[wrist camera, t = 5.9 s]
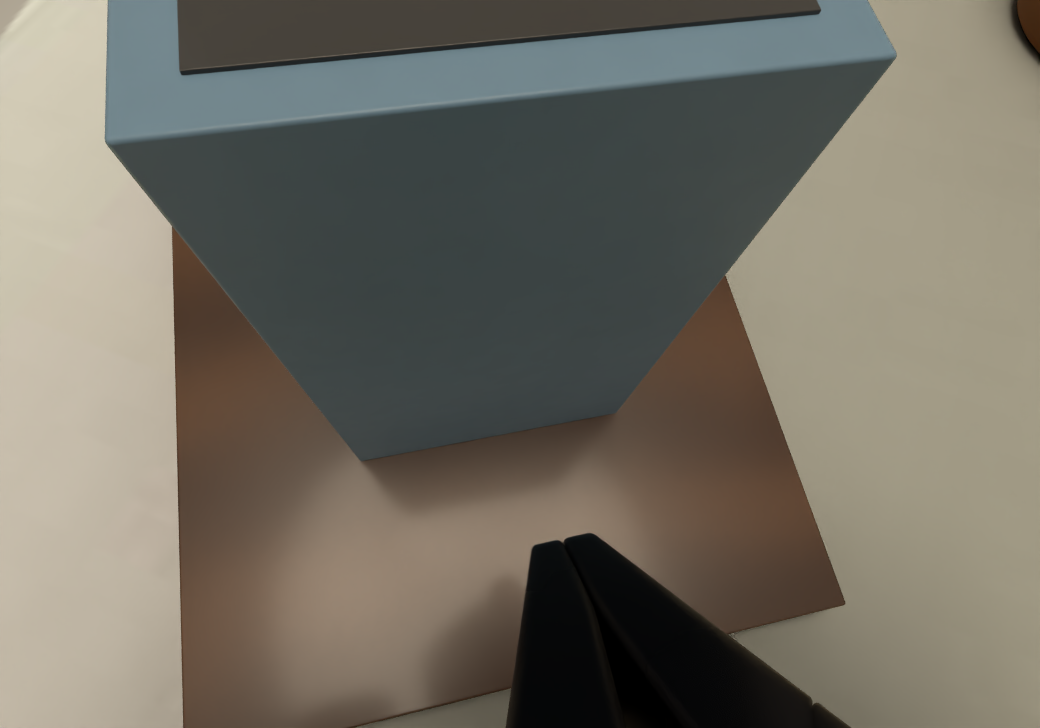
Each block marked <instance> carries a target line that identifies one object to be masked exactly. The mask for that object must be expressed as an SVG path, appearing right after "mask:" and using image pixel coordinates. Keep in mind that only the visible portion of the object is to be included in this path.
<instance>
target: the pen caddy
mask: <svg viewBox="0 0 1040 728" xmlns="http://www.w3.org/2000/svg"><path fill="white" fill-rule="evenodd" d="M896 56H897V55H896V51H895V49H894V48H893V46H892V44H891V42H890V40H889V38H888V37H887V35H886V33H885V31H884V29H883V28H882V26H881V24H880V22H879V20H878V18H877V17H876V15H875V13H874V11H873V9H872V8H871V6H870V4H869V2H868V0H108V17H107V63H106V109H105V142H106V144H107V145H108V147H109V148H110V149H111V150H112V152H113V153H114V154H115V155H116V157H117V158H118V159H119V160H120V162H121V163H122V164H123V165H124V167H125V168H126V169H127V170H128V172H129V173H130V174H131V175H132V177H133V178H134V179H135V180H136V182H137V183H138V184H139V185H140V187H141V188H142V189H143V190H144V192H145V193H146V194H147V195H148V197H149V198H150V199H151V200H152V202H153V203H154V204H155V205H156V207H157V208H158V209H159V210H160V212H161V213H162V214H163V215H164V217H165V218H166V219H167V220H168V222H169V223H170V224H171V225H172V227H173V228H174V229H175V230H176V232H177V233H178V234H179V235H180V237H181V238H182V239H183V240H184V242H185V243H186V244H187V245H188V247H189V248H190V249H191V250H192V252H193V253H194V254H195V255H196V257H197V258H198V259H199V260H200V261H201V263H202V264H203V265H204V266H205V268H206V269H207V270H208V271H209V273H210V274H211V275H212V276H213V278H214V279H215V280H216V281H217V283H218V284H219V285H220V286H221V288H222V289H223V290H224V291H225V293H226V294H227V295H228V296H229V298H230V299H231V300H232V301H233V303H234V304H235V305H236V306H237V308H238V309H239V310H240V311H241V313H242V314H243V315H244V316H245V318H246V319H247V320H248V321H249V323H250V324H251V325H252V326H253V328H254V329H255V330H256V331H257V333H258V334H259V335H260V336H261V338H262V339H263V340H264V341H265V343H266V344H267V345H268V346H269V348H270V349H271V350H272V351H273V353H274V354H275V355H276V356H277V358H278V359H279V360H280V361H281V363H282V364H283V365H284V366H285V368H286V369H287V370H288V371H289V373H290V374H291V375H292V376H293V378H294V379H295V380H296V381H297V383H298V384H299V385H300V386H301V387H302V389H303V390H304V391H305V392H306V394H307V395H308V396H309V397H310V399H311V400H312V401H313V402H314V404H315V405H316V406H317V407H318V409H319V410H320V411H321V412H322V414H323V415H324V416H325V417H326V419H327V420H328V421H329V422H330V424H331V425H332V426H333V427H334V429H335V430H336V431H337V432H338V434H339V435H340V436H341V437H342V439H343V440H344V441H345V442H346V444H347V445H348V446H349V447H350V449H351V450H352V451H353V452H354V454H355V455H356V456H357V457H358V459H359V460H360V461H365V460H370V459H375V458H381V457H386V456H391V455H397V454H402V453H407V452H412V451H418V450H423V449H428V448H434V447H439V446H444V445H449V444H455V443H460V442H465V441H471V440H476V439H481V438H486V437H492V436H497V435H502V434H508V433H513V432H518V431H523V430H529V429H534V428H539V427H545V426H550V425H555V424H561V423H566V422H571V421H576V420H582V419H587V418H592V417H598V416H603V415H608V414H613V413H616V412H617V411H618V410H619V409H620V407H621V406H622V405H623V404H624V402H625V401H626V400H627V399H628V397H629V396H630V395H631V393H632V392H633V391H634V390H635V388H636V387H637V386H638V385H639V383H640V382H641V381H642V379H643V378H644V377H645V376H646V374H647V373H648V372H649V371H650V369H651V368H652V367H653V366H654V364H655V363H656V362H657V360H658V359H659V358H660V357H661V355H662V354H663V353H664V352H665V350H666V349H667V348H668V347H669V345H670V344H671V343H672V341H673V340H674V339H675V338H676V336H677V335H678V334H679V333H680V331H681V330H682V329H683V328H684V326H685V325H686V324H687V322H688V321H689V320H690V319H691V317H692V316H693V315H694V314H695V312H696V311H697V310H698V308H699V307H700V306H701V305H702V303H703V302H704V301H705V300H706V298H707V297H708V296H709V295H710V293H711V292H712V291H713V289H714V288H715V287H716V286H717V284H718V283H719V282H720V281H721V279H722V278H723V277H724V276H725V274H726V273H727V272H728V270H729V269H730V268H731V267H732V265H733V264H734V263H735V262H736V260H737V259H738V258H739V256H740V255H741V254H742V253H743V251H744V250H745V249H746V248H747V246H748V245H749V244H750V243H751V241H752V240H753V239H754V237H755V236H756V235H757V234H758V232H759V231H760V230H761V229H762V227H763V226H764V225H765V224H766V222H767V221H768V220H769V218H770V217H771V216H772V215H773V213H774V212H775V211H776V210H777V208H778V207H779V206H780V204H781V203H782V202H783V201H784V199H785V198H786V197H787V196H788V194H789V193H790V192H791V191H792V189H793V188H794V187H795V185H796V184H797V183H798V182H799V180H800V179H801V178H802V177H803V175H804V174H805V173H806V172H807V170H808V169H809V168H810V166H811V165H812V164H813V163H814V161H815V160H816V159H817V158H818V156H819V155H820V154H821V153H822V151H823V150H824V149H825V147H826V146H827V145H828V144H829V142H830V141H831V140H832V139H833V137H834V136H835V135H836V133H837V132H838V131H839V130H840V128H841V127H842V126H843V125H844V123H845V122H846V121H847V120H848V118H849V117H850V116H851V114H852V113H853V112H854V111H855V109H856V108H857V107H858V106H859V104H860V103H861V102H862V101H863V99H864V98H865V97H866V95H867V94H868V93H869V92H870V90H871V89H872V88H873V87H874V85H875V84H876V83H877V81H878V80H879V79H880V78H881V76H882V75H883V74H884V73H885V71H886V70H887V69H888V68H889V66H890V65H891V64H892V62H893V61H894V60H895V59H896Z"/></svg>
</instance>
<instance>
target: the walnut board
mask: <svg viewBox="0 0 1040 728" xmlns="http://www.w3.org/2000/svg"><path fill="white" fill-rule="evenodd" d="M172 247H173V291H174V335H175V379H176V423H177V467H178V511H179V555H180V599H181V644H182V688H183V728H355V727H359V726H363V725H367V724H371V723H375V722H379V721H383V720H387V719H391V718H395V717H399V716H403V715H407V714H411V713H415V712H419V711H423V710H427V709H431V708H435V707H439V706H443V705H447V704H451V703H455V702H459V701H463V700H467V699H471V698H475V697H479V696H483V695H487V694H491V693H495V692H499V691H503V690H507V689H511V688H512V681H513V674H514V667H515V660H516V653H517V646H518V639H519V632H520V625H521V618H522V611H523V604H524V597H525V590H526V583H527V576H528V569H529V562H530V555H531V549H532V547H533V546H534V545H536V544H540V543H544V542H549V541H554V540H560V541H562V542H563V541H564V540H565V539H566V538H568V537H572V536H576V535H581V534H586V533H593V534H595V535H597V536H598V537H599V538H601V539H602V540H603V541H605V542H606V543H607V544H609V545H610V546H611V547H613V548H614V549H615V550H617V551H618V552H619V553H620V554H622V555H623V556H624V557H626V558H627V559H628V560H630V561H631V562H632V563H634V564H635V565H636V566H638V567H639V568H640V569H642V570H643V571H644V572H646V573H647V574H648V575H650V576H651V577H652V578H654V579H655V580H656V581H657V582H659V583H660V584H661V585H663V586H664V587H665V588H667V589H668V590H669V591H671V592H672V593H673V594H675V595H676V596H677V597H679V598H680V599H681V600H683V601H684V602H685V603H687V604H688V605H689V606H691V607H692V608H693V609H694V610H696V611H697V612H698V613H700V614H701V615H702V616H704V617H705V618H706V619H708V620H709V621H710V622H712V623H713V624H714V625H716V626H717V627H718V628H720V629H721V630H722V631H724V632H725V633H726V634H730V633H734V632H738V631H742V630H746V629H750V628H754V627H758V626H762V625H766V624H770V623H774V622H778V621H782V620H786V619H790V618H794V617H798V616H802V615H806V614H810V613H814V612H818V611H822V610H826V609H830V608H834V607H838V606H842V605H845V601H844V598H843V595H842V592H841V590H840V587H839V584H838V581H837V579H836V576H835V573H834V571H833V568H832V565H831V562H830V560H829V557H828V554H827V551H826V549H825V546H824V543H823V541H822V538H821V535H820V532H819V530H818V527H817V524H816V521H815V519H814V516H813V513H812V511H811V508H810V505H809V502H808V500H807V497H806V494H805V491H804V489H803V486H802V483H801V481H800V478H799V475H798V472H797V470H796V467H795V464H794V461H793V459H792V456H791V453H790V451H789V448H788V445H787V442H786V440H785V437H784V434H783V431H782V429H781V426H780V423H779V421H778V418H777V415H776V412H775V410H774V407H773V404H772V401H771V399H770V396H769V393H768V391H767V388H766V385H765V382H764V380H763V377H762V374H761V372H760V369H759V366H758V363H757V361H756V358H755V355H754V352H753V350H752V347H751V344H750V342H749V339H748V336H747V333H746V331H745V328H744V325H743V322H742V320H741V317H740V314H739V312H738V309H737V306H736V303H735V301H734V298H733V295H732V292H731V290H730V287H729V284H728V282H727V279H726V276H724V277H723V278H722V279H721V281H720V282H719V283H718V284H717V286H716V287H715V288H714V289H713V291H712V292H711V293H710V295H709V296H708V297H707V298H706V300H705V301H704V302H703V303H702V305H701V306H700V307H699V308H698V310H697V311H696V312H695V314H694V315H693V316H692V317H691V319H690V320H689V321H688V322H687V324H686V325H685V326H684V328H683V329H682V330H681V331H680V333H679V334H678V335H677V336H676V338H675V339H674V340H673V341H672V343H671V344H670V345H669V347H668V348H667V349H666V350H665V352H664V353H663V354H662V355H661V357H660V358H659V359H658V360H657V362H656V363H655V364H654V366H653V367H652V368H651V369H650V371H649V372H648V373H647V374H646V376H645V377H644V378H643V379H642V381H641V382H640V383H639V385H638V386H637V387H636V388H635V390H634V391H633V392H632V393H631V395H630V396H629V397H628V399H627V400H626V401H625V402H624V404H623V405H622V406H621V407H620V409H619V410H618V411H617V412H616V413H613V414H608V415H603V416H598V417H592V418H587V419H582V420H576V421H571V422H566V423H561V424H555V425H550V426H545V427H539V428H534V429H529V430H523V431H518V432H513V433H508V434H502V435H497V436H492V437H486V438H481V439H476V440H471V441H465V442H460V443H455V444H449V445H444V446H439V447H434V448H428V449H423V450H418V451H412V452H407V453H402V454H397V455H391V456H386V457H381V458H375V459H370V460H365V461H360V460H359V459H358V457H357V456H356V455H355V454H354V452H353V451H352V450H351V449H350V447H349V446H348V445H347V444H346V442H345V441H344V440H343V439H342V437H341V436H340V435H339V434H338V432H337V431H336V430H335V429H334V427H333V426H332V425H331V424H330V422H329V421H328V420H327V419H326V417H325V416H324V415H323V414H322V412H321V411H320V410H319V409H318V407H317V406H316V405H315V404H314V402H313V401H312V400H311V399H310V397H309V396H308V395H307V394H306V392H305V391H304V390H303V389H302V387H301V386H300V385H299V384H298V383H297V381H296V380H295V379H294V378H293V376H292V375H291V374H290V373H289V371H288V370H287V369H286V368H285V366H284V365H283V364H282V363H281V361H280V360H279V359H278V358H277V356H276V355H275V354H274V353H273V351H272V350H271V349H270V348H269V346H268V345H267V344H266V343H265V341H264V340H263V339H262V338H261V336H260V335H259V334H258V333H257V331H256V330H255V329H254V328H253V326H252V325H251V324H250V323H249V321H248V320H247V319H246V318H245V316H244V315H243V314H242V313H241V311H240V310H239V309H238V308H237V306H236V305H235V304H234V303H233V301H232V300H231V299H230V298H229V296H228V295H227V294H226V293H225V291H224V290H223V289H222V288H221V286H220V285H219V284H218V283H217V281H216V280H215V279H214V278H213V276H212V275H211V274H210V273H209V271H208V270H207V269H206V268H205V266H204V265H203V264H202V263H201V261H200V260H199V259H198V258H197V257H196V255H195V254H194V253H193V252H192V250H191V249H190V248H189V247H188V245H187V244H186V243H185V242H184V240H183V239H182V238H181V237H180V235H179V234H178V233H177V232H176V230H175V229H174V228H173V227H172Z"/></svg>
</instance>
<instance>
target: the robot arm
mask: <svg viewBox="0 0 1040 728" xmlns="http://www.w3.org/2000/svg"><path fill="white" fill-rule="evenodd" d="M506 728H851V727H850V726H848V725H847V724H846V723H844V722H843V721H842V720H840V719H839V718H838V717H836V716H835V715H834V714H832V713H831V712H830V711H828V710H827V709H826V708H824V707H823V706H822V705H820V704H819V703H814V704H812V699H811V697H809V696H808V695H807V694H805V693H804V692H803V691H802V690H800V689H799V688H798V687H796V686H795V685H794V684H792V683H791V682H790V681H788V680H787V679H786V678H784V677H783V676H782V675H780V674H779V673H778V672H776V671H775V670H774V669H772V668H771V667H770V666H768V665H767V664H766V663H765V662H763V661H762V660H761V659H759V658H758V657H757V656H755V655H754V654H753V653H751V652H750V651H749V650H747V649H746V648H745V647H743V646H742V645H741V644H739V643H738V642H737V641H735V640H734V639H733V638H731V637H730V636H729V635H728V634H726V633H725V632H724V631H722V630H721V629H720V628H718V627H717V626H716V625H714V624H713V623H712V622H710V621H709V620H708V619H706V618H705V617H704V616H702V615H701V614H700V613H698V612H697V611H696V610H694V609H693V608H692V607H691V606H689V605H688V604H687V603H685V602H684V601H683V600H681V599H680V598H679V597H677V596H676V595H675V594H673V593H672V592H671V591H669V590H668V589H667V588H665V587H664V586H663V585H661V584H660V583H659V582H657V581H656V580H655V579H654V578H652V577H651V576H650V575H648V574H647V573H646V572H644V571H643V570H642V569H640V568H639V567H638V566H636V565H635V564H634V563H632V562H631V561H630V560H628V559H627V558H626V557H624V556H623V555H622V554H620V553H619V552H618V551H617V550H615V549H614V548H613V547H611V546H610V545H609V544H607V543H606V542H605V541H603V540H602V539H601V538H599V537H598V536H597V535H595V534H593V533H586V534H581V535H576V536H572V537H568V538H566V539H565V540H564V541H563V542H562V541H560V540H554V541H549V542H544V543H540V544H536V545H534V546H533V547H532V549H531V555H530V562H529V569H528V576H527V583H526V590H525V597H524V604H523V611H522V618H521V625H520V632H519V639H518V646H517V653H516V660H515V667H514V674H513V681H512V688H511V695H510V702H509V709H508V715H507V722H506Z"/></svg>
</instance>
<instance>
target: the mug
mask: <svg viewBox="0 0 1040 728" xmlns="http://www.w3.org/2000/svg"><path fill="white" fill-rule="evenodd" d="M1017 10H1018V16H1019V19H1020V23H1021V26H1022V28H1023V30H1024V32H1025V34H1026V36H1027V38H1028V39H1029V41H1030V42H1031V44H1032V45H1033V46H1034V48H1035V49H1036V50H1037V51H1038V52H1039V53H1040V0H1017Z"/></svg>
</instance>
